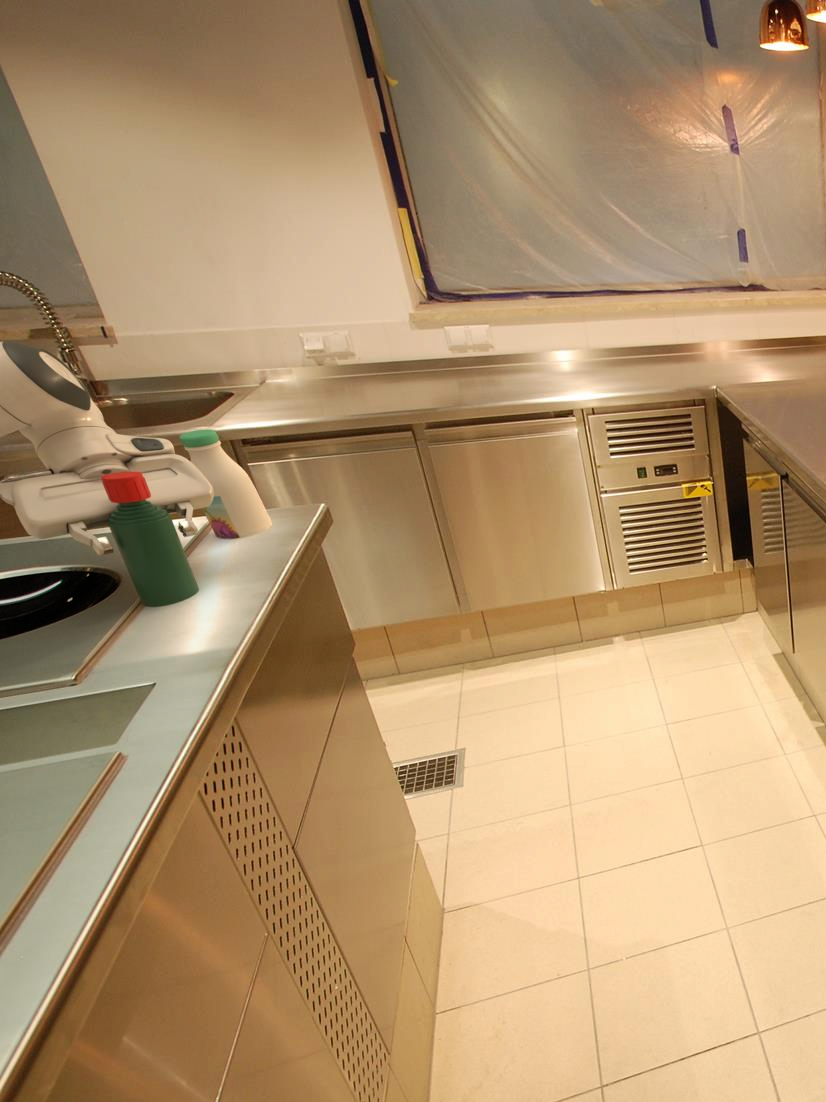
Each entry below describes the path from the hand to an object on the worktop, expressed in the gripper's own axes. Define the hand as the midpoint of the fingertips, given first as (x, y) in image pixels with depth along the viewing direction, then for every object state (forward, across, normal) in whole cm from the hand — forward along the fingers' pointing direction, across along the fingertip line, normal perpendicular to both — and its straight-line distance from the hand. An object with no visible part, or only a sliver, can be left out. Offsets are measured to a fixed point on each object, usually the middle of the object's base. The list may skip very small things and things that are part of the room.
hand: (150, 542), depth 117 cm
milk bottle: (-6, +18, +19) cm, 27 cm away
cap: (-5, 0, -4) cm, 6 cm away
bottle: (+6, 0, +7) cm, 10 cm away
